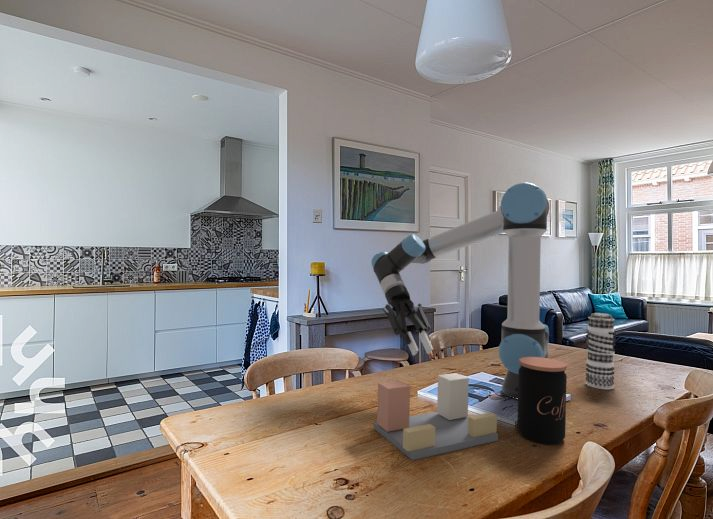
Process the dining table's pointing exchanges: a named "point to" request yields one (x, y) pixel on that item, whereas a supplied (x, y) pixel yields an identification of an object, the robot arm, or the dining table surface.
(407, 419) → the terracotta key
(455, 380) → the cream key
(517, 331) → the robot arm
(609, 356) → the white patterned cylinder
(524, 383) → the coffee jar
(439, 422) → the board
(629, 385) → the dining table surface
